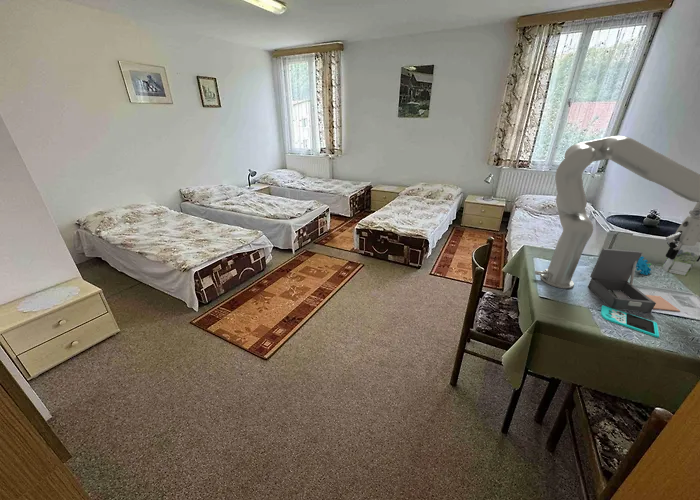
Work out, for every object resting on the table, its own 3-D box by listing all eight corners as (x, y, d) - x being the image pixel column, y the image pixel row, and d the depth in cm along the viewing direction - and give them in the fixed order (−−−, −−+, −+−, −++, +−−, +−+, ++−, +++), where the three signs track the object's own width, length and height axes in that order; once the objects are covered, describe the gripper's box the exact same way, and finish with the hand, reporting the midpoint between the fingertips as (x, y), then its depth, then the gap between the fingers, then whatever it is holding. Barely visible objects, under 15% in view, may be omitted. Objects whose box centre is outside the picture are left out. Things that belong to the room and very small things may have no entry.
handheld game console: (601, 307, 115) (602, 304, 114) (655, 324, 106) (657, 321, 105) (599, 319, 108) (601, 316, 108) (658, 339, 99) (660, 336, 98)
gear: (641, 274, 135) (633, 254, 139) (627, 277, 141) (619, 258, 144) (657, 274, 138) (649, 255, 141) (643, 277, 143) (635, 258, 147)
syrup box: (681, 270, 112) (701, 236, 105) (687, 277, 107) (708, 242, 101) (661, 266, 114) (680, 233, 108) (666, 273, 110) (685, 238, 104)
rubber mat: (650, 308, 114) (651, 307, 113) (632, 294, 122) (633, 293, 122) (679, 311, 112) (680, 310, 112) (659, 297, 121) (660, 296, 121)
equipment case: (611, 309, 113) (632, 268, 105) (586, 285, 129) (602, 248, 121) (651, 313, 111) (676, 272, 103) (621, 288, 127) (640, 251, 118)
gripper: (688, 216, 99) (662, 261, 106) (747, 219, 96) (717, 265, 104) (670, 209, 105) (647, 252, 113) (725, 213, 103) (699, 256, 110)
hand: (681, 258), depth 108 cm, fingers closed on syrup box, 7 cm apart
